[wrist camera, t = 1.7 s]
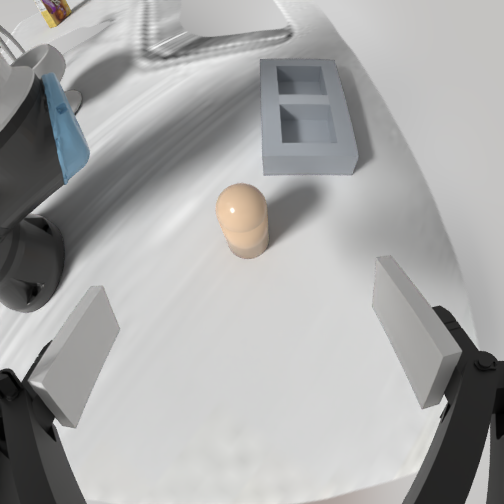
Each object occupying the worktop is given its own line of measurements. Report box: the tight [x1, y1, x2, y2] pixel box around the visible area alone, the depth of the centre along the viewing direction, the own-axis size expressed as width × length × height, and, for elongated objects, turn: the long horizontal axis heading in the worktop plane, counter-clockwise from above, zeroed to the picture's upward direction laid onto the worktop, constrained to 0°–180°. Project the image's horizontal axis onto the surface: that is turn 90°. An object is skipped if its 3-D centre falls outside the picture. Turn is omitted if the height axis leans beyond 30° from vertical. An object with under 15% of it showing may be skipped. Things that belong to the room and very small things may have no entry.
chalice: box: [10, 43, 82, 114], centre depth 43 cm, size 14×14×15 cm
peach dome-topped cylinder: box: [216, 183, 269, 259], centre depth 34 cm, size 5×5×11 cm
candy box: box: [34, 0, 72, 28], centre depth 62 cm, size 9×4×15 cm, turn 162°
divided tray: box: [260, 59, 359, 176], centre depth 42 cm, size 12×20×4 cm, turn 0°
